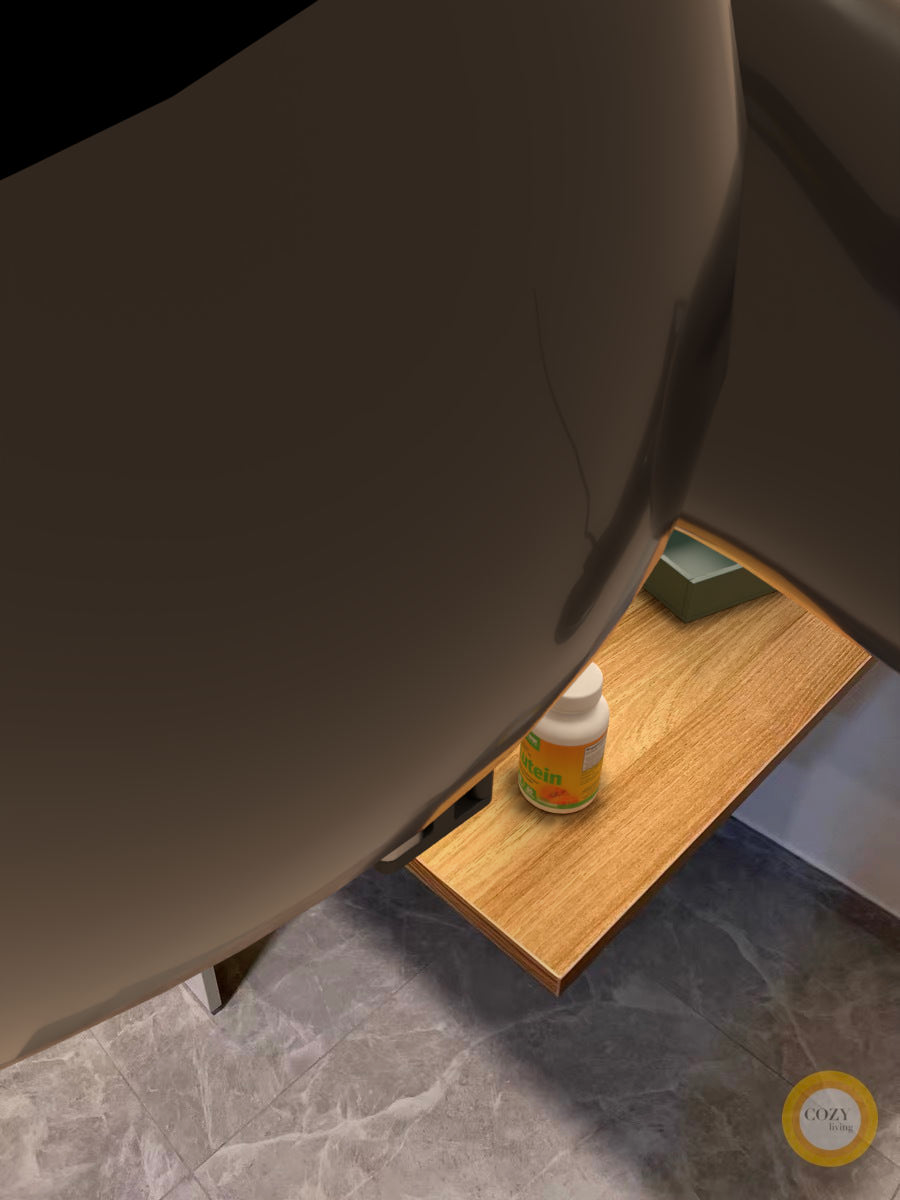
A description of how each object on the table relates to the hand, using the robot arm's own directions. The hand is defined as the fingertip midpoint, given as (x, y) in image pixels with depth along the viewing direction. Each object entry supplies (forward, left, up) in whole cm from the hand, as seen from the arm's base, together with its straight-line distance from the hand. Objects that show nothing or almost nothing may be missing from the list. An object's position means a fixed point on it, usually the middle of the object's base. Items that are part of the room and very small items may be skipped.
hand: (448, 647), depth 42 cm
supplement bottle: (+3, -10, -18) cm, 21 cm away
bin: (+19, -35, -18) cm, 44 cm away
